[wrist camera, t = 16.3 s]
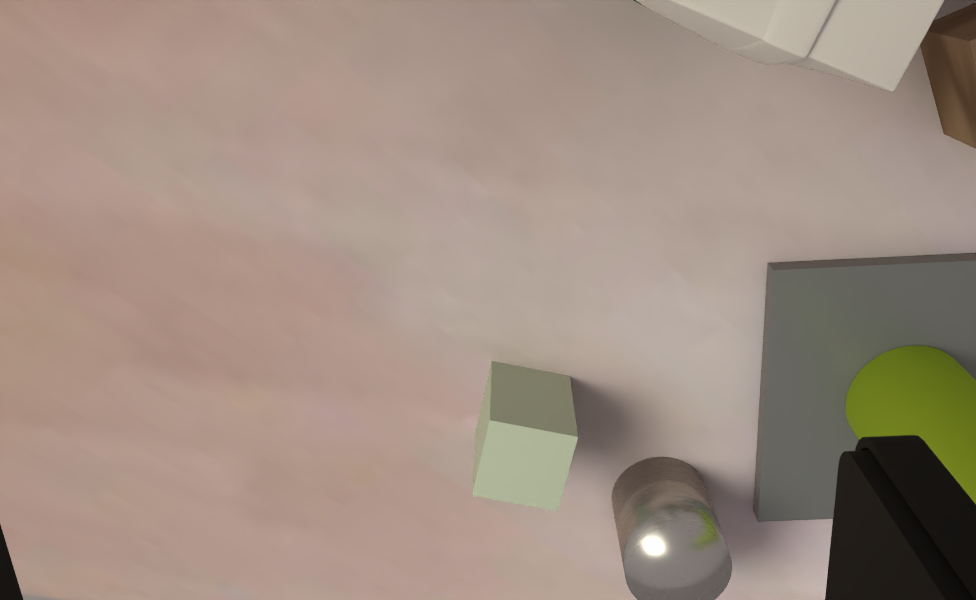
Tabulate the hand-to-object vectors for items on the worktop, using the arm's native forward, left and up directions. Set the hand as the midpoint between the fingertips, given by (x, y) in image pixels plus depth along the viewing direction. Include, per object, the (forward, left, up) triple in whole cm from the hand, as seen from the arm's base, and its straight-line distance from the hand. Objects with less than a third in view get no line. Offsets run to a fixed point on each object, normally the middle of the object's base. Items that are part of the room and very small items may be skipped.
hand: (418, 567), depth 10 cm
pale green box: (+16, +1, -33) cm, 37 cm away
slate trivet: (+16, +20, -33) cm, 42 cm away
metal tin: (+22, +8, -33) cm, 41 cm away
